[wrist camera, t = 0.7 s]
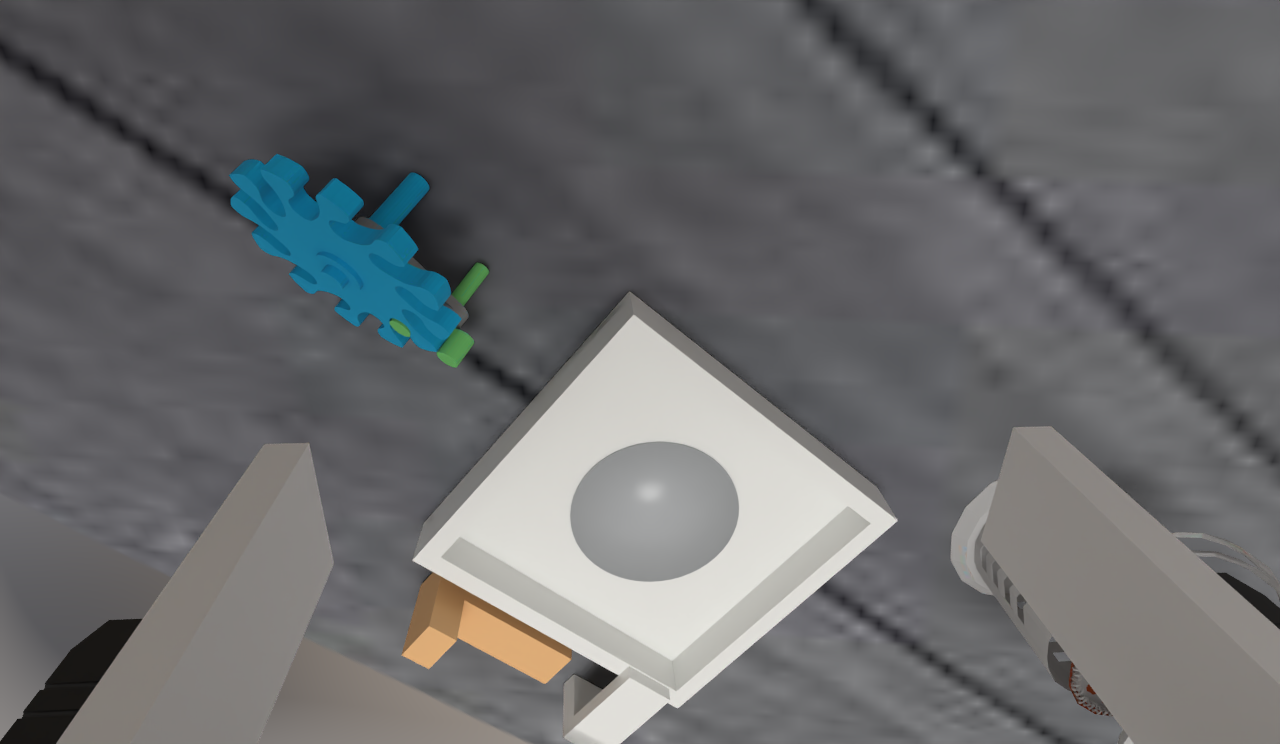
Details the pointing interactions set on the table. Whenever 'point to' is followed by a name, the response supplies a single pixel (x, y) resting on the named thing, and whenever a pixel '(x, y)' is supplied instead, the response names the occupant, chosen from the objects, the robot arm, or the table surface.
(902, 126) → the table surface
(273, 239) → the gear
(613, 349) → the tray
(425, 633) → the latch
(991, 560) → the french press
